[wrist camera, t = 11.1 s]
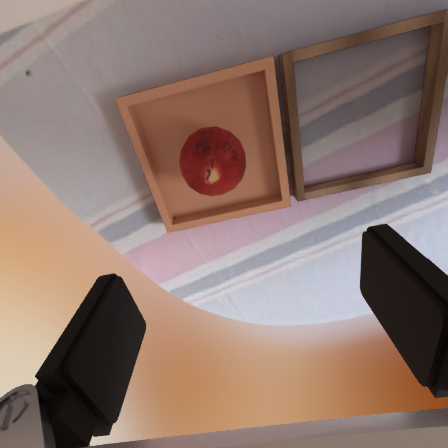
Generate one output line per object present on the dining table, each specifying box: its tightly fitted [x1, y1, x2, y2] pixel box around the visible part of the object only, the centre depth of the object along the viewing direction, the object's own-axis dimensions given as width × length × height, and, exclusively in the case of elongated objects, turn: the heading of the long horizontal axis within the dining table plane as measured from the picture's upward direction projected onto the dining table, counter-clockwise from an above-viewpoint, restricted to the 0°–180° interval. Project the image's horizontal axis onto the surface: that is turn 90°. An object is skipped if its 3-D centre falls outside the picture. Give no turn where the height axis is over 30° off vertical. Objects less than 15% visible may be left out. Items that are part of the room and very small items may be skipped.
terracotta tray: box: [115, 56, 291, 233], centre depth 25 cm, size 14×14×2 cm
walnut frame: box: [279, 9, 448, 201], centre depth 24 cm, size 14×14×2 cm
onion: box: [179, 126, 246, 196], centre depth 22 cm, size 6×6×8 cm
